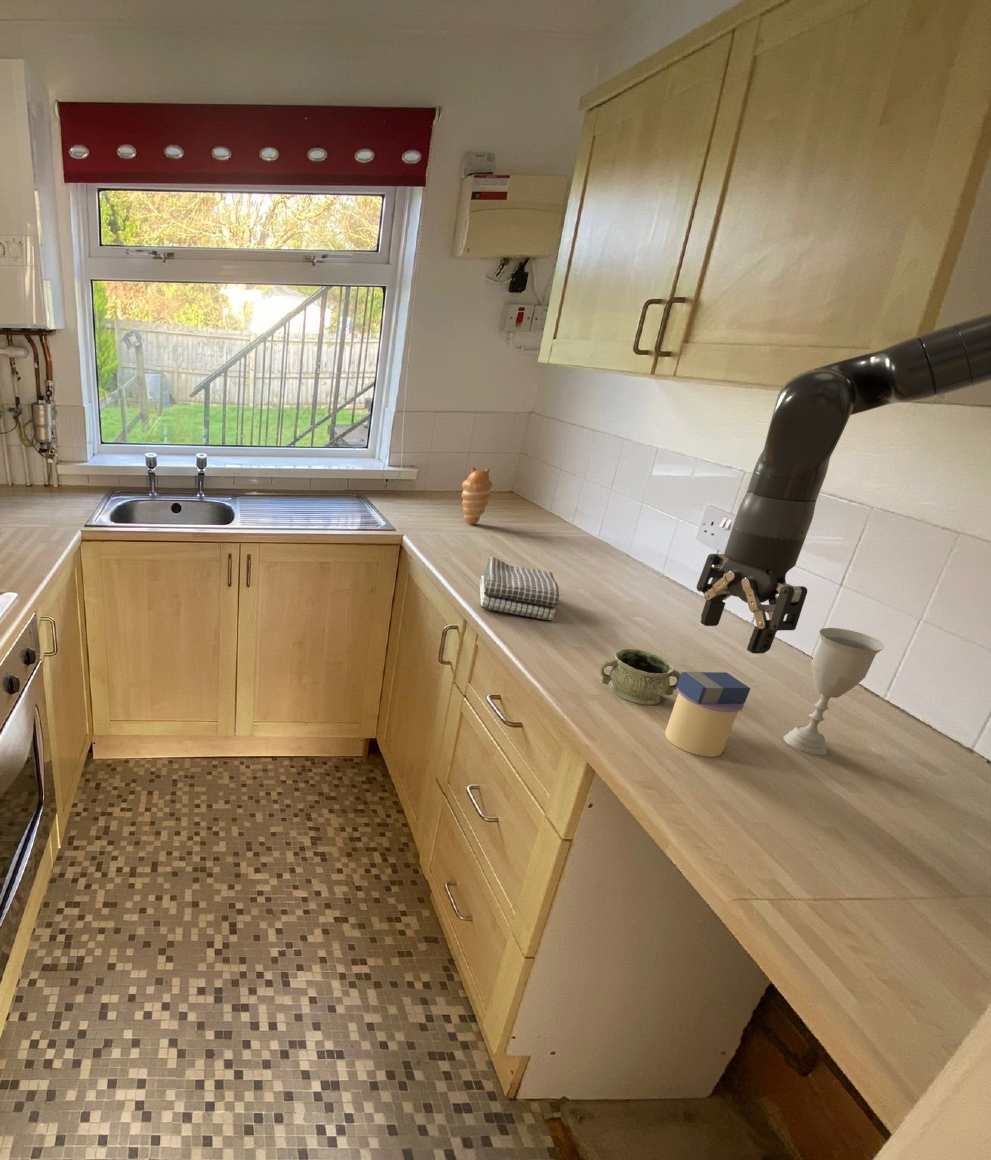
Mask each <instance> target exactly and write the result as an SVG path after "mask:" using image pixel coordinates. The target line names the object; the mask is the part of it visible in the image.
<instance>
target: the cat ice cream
mask: <svg viewBox="0 0 991 1160" xmlns="http://www.w3.org/2000/svg"><path fill="white" fill-rule="evenodd" d="M470 471H471V473H470V474H469V475H468V477H467V479H465V480H463V481H462V483H461V488H462V490H463V491H462V492H461V498H462V502H461V506H462V507H463V508H462V513H463V515H464V516H463V519H464V521H465V523H467V524H469V525H475V524H477V523H478V522H479V521H480V519H481V515H483V514H484V513H485V511H486V507H487V506H488V504H489V499H490V498H491V495H492V494H491V493H492V492H491V491H492V489H493V485H494V484H493V482H492V481H491V480H490V475H489V474H490V471H491V468H485V469H484V470H483V469H476V468H475V467H474V466H472V467H471V469H470Z"/></svg>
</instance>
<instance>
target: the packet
mask: <svg viewBox="0 0 991 1160" xmlns="http://www.w3.org/2000/svg"><path fill="white" fill-rule="evenodd" d="M676 687H677V688H678V689H680V690H681V691H682V692H684V693H685V694H686V695H688V696H689V697H690V698H691V699H693V700H694V701H695V702H697V703H701V704H717V703H741V704H744V705H745V703H746V701H747V699H748V696H749V694H750V691H751V687H749V686H748V685H747V684H745V683H743V682H742V681H740V680H739V679H738V678H736V677H734V676H733V675H731V674H730V673H728V672H726V671H722V672H721V671H717V672H715V671H680V677H679V680H678V683H677V686H676Z"/></svg>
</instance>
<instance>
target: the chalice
mask: <svg viewBox="0 0 991 1160" xmlns="http://www.w3.org/2000/svg"><path fill="white" fill-rule="evenodd" d="M819 636H820V641H819V643H818V646H817V647H816V648H817V649H816V650H815V653H814V656H813V658H812V660H811V676H812V681H813V685H814V689H815V692H817V693H818V694H820V699H818V701H817V702H815V703H814V708H815V710H814V711H813V712H812V713H809V714H808V717H809V718H810V721H809V723H808V724H807V725H799V726H796V727H793V728H792V729H791V730H790V731H788V733H786V734H785V735H783V737H782V739H783V740H784V742H785V743H786V744H787V745H789V746H791V747H792V748H794V749H796V750H798V751H801V752H804V753H807V754H810V755H818V756H820V755H825V754H827V752H828V751H827V747H826V746H827V743H826V738H825V736H824V734H823V733H822V732H821V731H820V730H819V729H818V725H819V724H820V723H821V722H823V721H825V718H824V713H825V712H826V711H827V710H829V707H828V706H829V705H828V703H829V701H830V699H832V698H833V699H837V698H840V697H842V696H843V695H845V694H846V693H848V692H849V691H851V690H852V689H854V688H855V687H857V685H858V684H860V683H861V682H862V681H863V680H864V679H865V678H866V676H867V674H868V673H869V670H870V668H871V665H872V664H873V661H874V660H875V657H876V655H877V654H879V653H880V652H881V651H882V650H884V649H885V646H886V645H885V644H884V643H883V642H882V641H880V640H879V639H877V638H875V637H873V636H871V635H868V634H865V633H862V632H858V631H855V630H850V629H844V628H841V627H839V628H838V627H824V628H821V629H820V630H819Z"/></svg>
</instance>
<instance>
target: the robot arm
mask: <svg viewBox="0 0 991 1160" xmlns="http://www.w3.org/2000/svg"><path fill="white" fill-rule="evenodd" d="M988 382H991V313H987V314H984V315H981V316H978V317H977V316H976V317H974V318H971V319H967V320H964V321H960V322H958V323H955V324H951V325H948V326H946V327H945V326H944V327H942V328H939V329H935V330H933V331H929V332H927V333H924V334H921V335H918V336H914V337H912V338H909V339H906V340H903V341H901V342H898V343H895V344H893V345H891V346H888V347H886V348H883V349H881V350H877V351H874V352H873V351H872V352H869V353H865V354H862V355H858V356H855V357H854V356H853V357H850V358H847V359H844V360H839V361H836V362H833V363H829V364H826V365H822V366H819V367H816V368H812V369H809V370H807V371H804V372H801V373H799V374H797V375H795V376H793V377H792V378H791V379H789V380H787V382H785V384H784V385H783V386H782V387H781V389H780V390H779V392H778V395H777V398H776V401H775V404H774V409H773V412H772V415H771V419H770V422H769V427H768V430H767V435H766V440H765V443H764V447H763V450H762V451H761V453H760V455H759V457H758V459H757V461H756V462H755V466H754V468H753V471H752V474H751V477H750V481H749V483H748V486H747V490H746V491H745V495H744V497H743V498H742V500H741V503H740V505H739V507H738V509H737V512H736V515H735V519H734V522H733V525H732V527H731V531H730V534H729V537H728V540H727V542H726V547H725V549H724V553H709V554H708V555H707V557H706V560H705V563H704V565H703V568H702V570H701V573H700V576H699V579H698V581H697V583H696V590H697V591H698V592H701V593H702V594H703V597H704V600H705V602H704V606H703V609H702V612H701V614H700V623H701V625H703V626H705V627H717V626H718V625H719V624H720V622H721V619H722V615H723V612H724V609H725V607H726V602H725V601H726V600H727V599H728V598H730V597H731V596H733V597H736V598H739V599H740V600H741V601H742V602H745V603H746V604H747V605H748V609H749V611H750V612H751V613H753V615H754V620H755V623H756V626H754V628H753V630H752V632H751V636H750V638H749V642H748V644H747V647H746V650H747V652H749V653H751V654H765V653H767V652H769V650H770V649H771V648H772V645H773V642H774V639H775V637H776V634H777V632H778V631H795V630H796V629H797V626H798V623H799V619H800V617H801V613H802V611H803V608H804V604H805V601H806V597H807V594H808V588H807V587H806V586H803V585H799V586H798V585H796V586H795V585H792V584H789V583H787V581H786V576H787V573H788V572H789V571H790V570H791V569H793V568H794V567H795V566H796V565H797V562H798V559H799V557H800V554H801V551H802V549H803V547H804V546H803V545H804V543H805V541H806V537H807V535H808V532H809V529H810V527H811V524H812V521H813V519H814V516H815V515H814V514H815V510H816V509H815V508H816V505H817V500H818V498H819V495H820V493H821V490H822V488H823V485H824V482H825V480H826V476H827V473H828V469H829V465H830V461H831V457H832V455H833V453H834V451H835V449H836V448H837V445H838V443H839V441H840V439H841V437H842V435H843V433H844V430H845V428H846V426H847V424H848V422H849V420H850V417H851V416H853V415H856V414H860V413H864V412H867V411H871V410H874V409H877V408H881V407H884V406H888V405H892V404H901V403H902V404H903V403H905V404H906V403H911V402H916V401H921V400H925V399H929V398H933V397H934V396H935V397H937V396H940V395H944V394H948V393H952V392H955V391H959V390H963V389H966V388H969V387H974V386H977V385H981V384H985V383H988ZM710 579H711V581H710ZM709 581H710V583H709ZM767 601H768V604H762V603H765V602H767ZM766 613H767V614H768V618H767V614H766ZM785 617H786V618H785Z"/></svg>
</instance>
